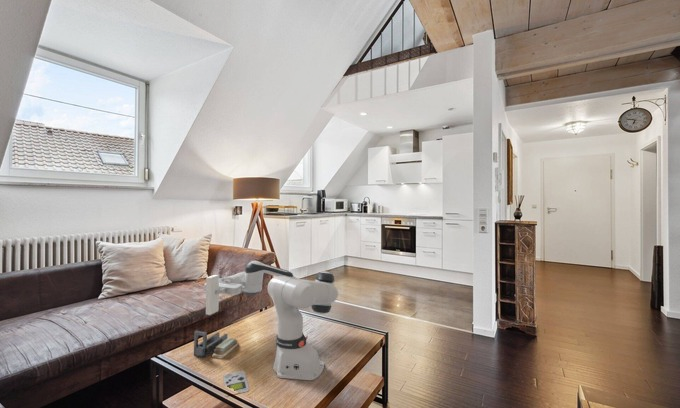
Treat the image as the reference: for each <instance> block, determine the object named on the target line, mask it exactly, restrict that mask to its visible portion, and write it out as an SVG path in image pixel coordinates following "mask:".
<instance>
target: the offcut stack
mask: <svg viewBox="0 0 680 408" xmlns="http://www.w3.org/2000/svg"><path fill="white" fill-rule="evenodd" d="M239 345H240V344H239V341H238V339H237V338H235V337H234V338H233V337H227V339H226V340H225V341H223V342H222V343H221V344H219V345H218V346H217V347H216V349H215V350H214V351H213V354H212V356H211V358H213V359H214V358H215V359H219V360H222V359H223V358H224V357H226V356H227V355H228V354H230V352H232V351H233V350H234V349H236V348H237V347H238V346H239Z"/></svg>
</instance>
